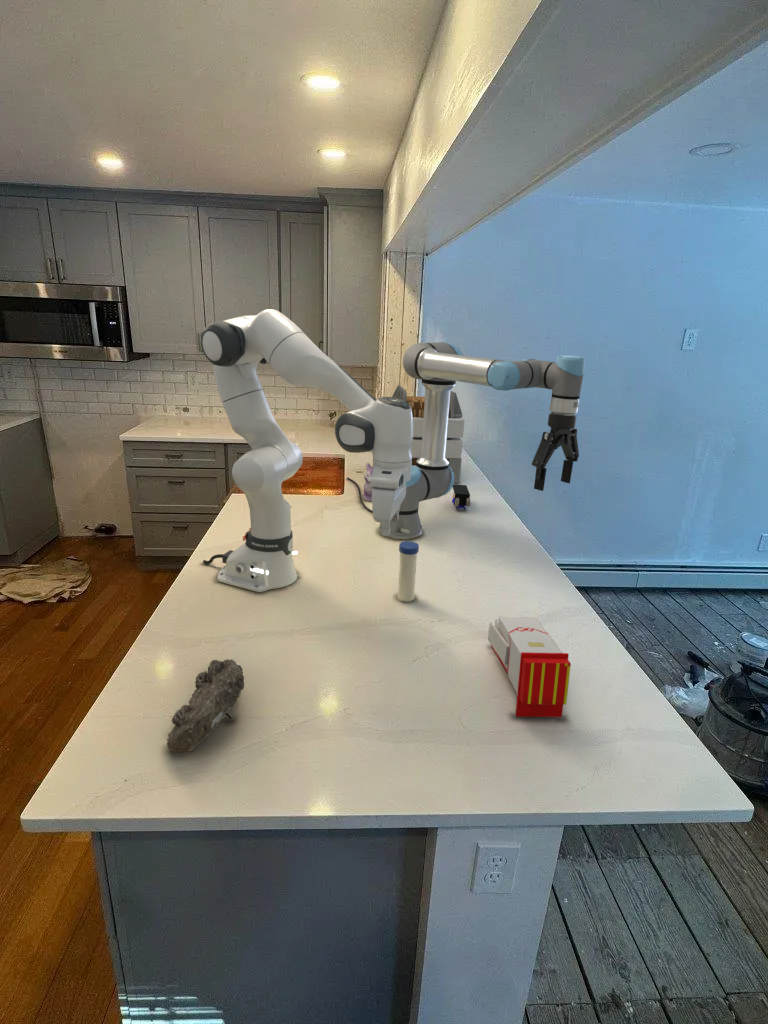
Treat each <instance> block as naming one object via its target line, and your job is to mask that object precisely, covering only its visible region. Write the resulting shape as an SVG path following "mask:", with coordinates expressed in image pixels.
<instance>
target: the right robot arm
mask: <svg viewBox="0 0 768 1024" xmlns="http://www.w3.org/2000/svg"><path fill="white" fill-rule="evenodd" d="M585 365H586V360H585V358H584V357H582V356H578V355H566V354H565V355H564V354H563V355H558V356H557V357H556V360H555V361H549V360H541V359H536V358H524V359H521V360H506V359H505V360H504V359H503V360H502V359H496V358H487V357H479V356H471V355H464V354H463V352H462V350H461V349H460V347H459V346H457V345H456V344H455V343H451V342H445V341H443V342H442V341H441V342H440V341H439V342H438V341H437V342H417V343H414V344H412V345H411V346H409V347H408V348H407V350H406V351H405V353H404V355H403V358H402V366H403V369H404V372H405V373H406V374H407V375H408V376H409V377H411V378H412V379H415V380H421V385H422V386H423V387H424V389H425V392H424V397H425V404H424V419H423V434H422V449H421V457H420V458H418V459H417V461H416V466H413V465H412V469H411V479H410V480H409V481H407V482H406V496H405V498H404V500H403V502H402V503H401V505H400V510H399V518H398V520H397V522H391V521H390V527H391V528H390V534H389V536H383V535H382V534H381V525H380V524H379V527H378V533H379V534H380V535H381V536H383V537H385V538H387V539H389V540H395V541H411V540H415V539H418V538H420V537H421V536H422V535H423V525H422V524H421V518H420V515H419V507H420V506H419V505H420V502H423V501H427V500H431V499H437V498H440V497H443V496H446V495H448V493H450V492H451V490H452V489H453V484H455V483H454V473H452V469H451V467H450V466H449V462H448V461H447V459H446V458H445V453H446V441H447V428H448V416H449V404H450V392H451V391H452V389H453V388H454V387H455V386H456V384H457V382H461V383H465V384H473V385H479V386H487V387H491V388H492V389H494V390H496V391H503V392H504V391H511V390H520V389H532V388H533V389H534V388H539V389H546V390H551V398H550V404H549V413H548V418H547V419H548V420H547V426H548V427H549V428H550V431H549V432H548V431H543V432H542V435H541V440H540V442H539V445H538V447H537V449H536V452H535V454H534V457H533V460H532V461H531V466H533V467H535V475H534V477H535V478H534V485H533V489H534V490H537V491H539V492H543V491H544V489H545V484H546V483H545V482H546V476H547V468H546V466H547V465H548V463H549V461H550V459H551V457H552V456H553V454H554V453H555V451H556V450H557V449H558V448H560V447H561V449H562V452H563V455H564V458H565V459H563V463H562V468H561V469H562V470H561V475H560V482H562V483H566V484H571V478H572V472H573V466H574V463H576V462H578V461H579V457H580V453H579V444H578V428H576V423H577V419H578V416H577V414H578V412H579V411H578V410H579V406H580V397H581V391H582V385H583V380H584V376H585ZM346 479H347V480H348V481H350V482H351V483H353V484H355V486H356V487H357V490H358V498H359V501H360V504H361V505H362V506H363V507H364V509H366V510H367V511H368V512H370V513H372V514H373V509H370V507H369V508H368V507H367V506H366V505H365V503H364V501H363V499H362V492H361V488H360V485H359V484H358V483H357V481H355V480H353V479H352V478H350V477H346Z"/></svg>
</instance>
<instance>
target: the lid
mask: <svg viewBox="0 0 768 1024" xmlns="http://www.w3.org/2000/svg"><path fill="white" fill-rule="evenodd" d="M398 545H399V546H398V552H399V553H400V552H401V553H403V554H408V555H412V554H416V553H417V554H418V553H419V551H420V545H419V544H418V543H417V542H416V541H411V540H403V541H401V542H400V543H399V544H398Z"/></svg>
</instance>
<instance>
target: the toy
mask: <svg viewBox="0 0 768 1024" xmlns="http://www.w3.org/2000/svg"><path fill="white" fill-rule="evenodd" d="M488 625H489V627H488V633H487V641H488V642H489V644H490V646H491V647H490V648H491V649H492V650H493V652H494V654H495V656H496V658H497V659H498V660H499V662H500V664H501V666H502V668H503V669H504V671H505V673H506V674H507V676H508V678H509V680H510V682H511V685H512V686H513V689H514V690H515V693H516V704H515V717H516V718H517V717H518V718H519V717H520V718H521V717H522V718H563V710H564V705H567V701H568V692H569V685H570V684H569V683H570V676H571V675H570V674H571V666H572V664H571V661H570V660H569V655H570V654H569V653H568V652H563V651H562V649H561V648H560V647H559V646H558V644H557V643H556V642H555V640H554V639H553V638H552V636H551V635H550V634H549V632H548V631H547V629H546V628H545V627H544V626H543V624H542V622H541V621H540V620H539V619H538V618H537V616H498V618H496V619H494V623H493V622H489V624H488Z"/></svg>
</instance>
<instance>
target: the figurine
mask: <svg viewBox="0 0 768 1024" xmlns="http://www.w3.org/2000/svg"><path fill="white" fill-rule="evenodd" d="M365 464H366V465H365V466H366V467H365V470H366V471H365V474H364V475H363V476H364V480H365V483H364V485H363V495H362V498H363V500H364V501H368V502H372V489H373V487H370V477H371V474H372V467H373V464H372V465H370V463H369V462H366V463H365Z"/></svg>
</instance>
